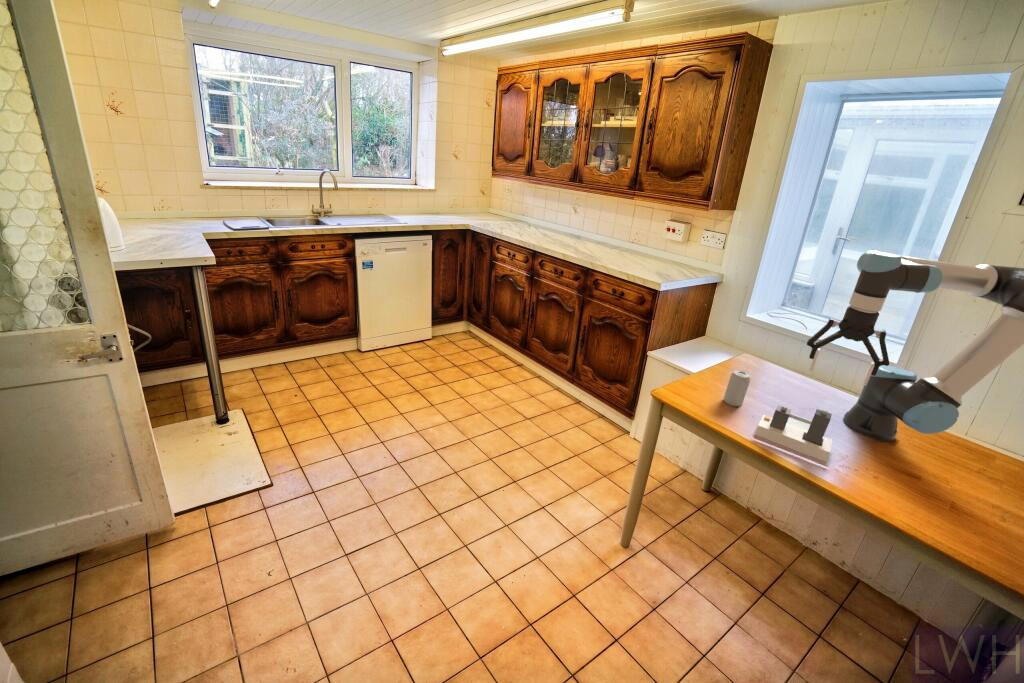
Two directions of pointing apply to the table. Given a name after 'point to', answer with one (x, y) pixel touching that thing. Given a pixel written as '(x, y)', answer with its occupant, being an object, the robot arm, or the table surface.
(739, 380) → the beverage can
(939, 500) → the table surface
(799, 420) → the tray
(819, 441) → the plug
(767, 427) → the strip
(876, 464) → the table surface
